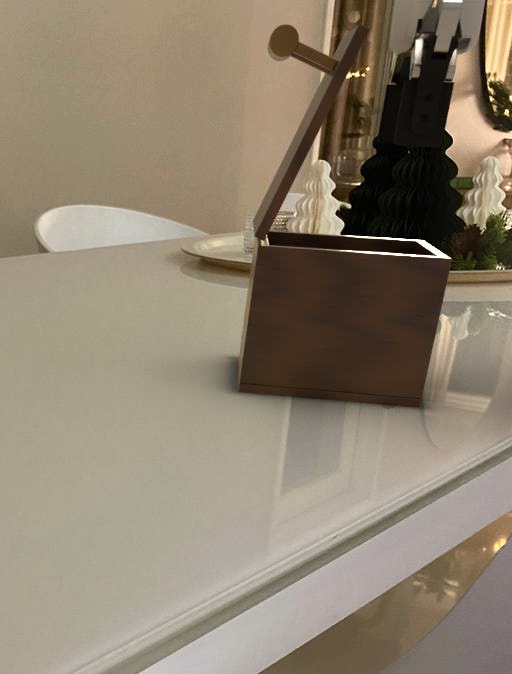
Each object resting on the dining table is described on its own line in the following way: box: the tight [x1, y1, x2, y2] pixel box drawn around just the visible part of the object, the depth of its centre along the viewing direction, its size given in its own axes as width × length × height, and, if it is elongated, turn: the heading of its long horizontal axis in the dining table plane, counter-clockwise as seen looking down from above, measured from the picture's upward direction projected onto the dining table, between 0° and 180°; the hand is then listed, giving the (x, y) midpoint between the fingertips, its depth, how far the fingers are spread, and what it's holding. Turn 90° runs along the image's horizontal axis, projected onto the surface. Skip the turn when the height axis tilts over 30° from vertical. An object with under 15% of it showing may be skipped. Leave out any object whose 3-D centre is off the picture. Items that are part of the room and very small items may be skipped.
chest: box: [237, 229, 453, 409], centre depth 83 cm, size 14×13×11 cm
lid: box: [252, 23, 370, 241], centre depth 78 cm, size 14×13×6 cm
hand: (407, 144), depth 77 cm, fingers open, 9 cm apart
